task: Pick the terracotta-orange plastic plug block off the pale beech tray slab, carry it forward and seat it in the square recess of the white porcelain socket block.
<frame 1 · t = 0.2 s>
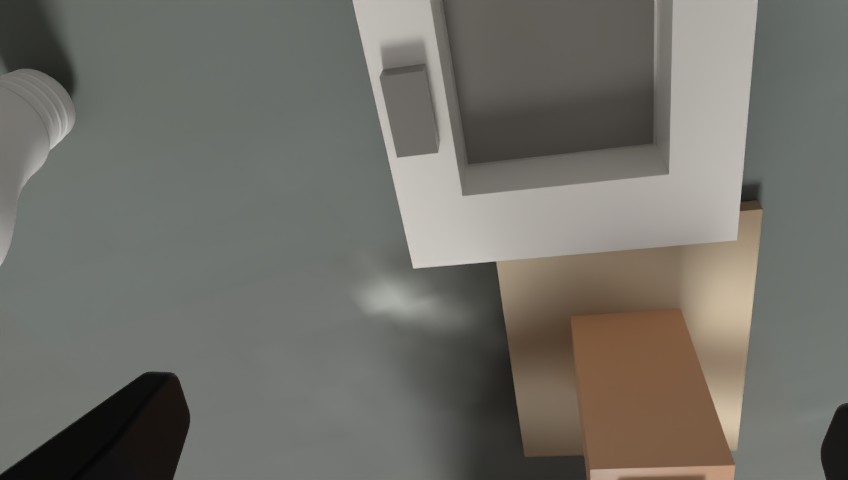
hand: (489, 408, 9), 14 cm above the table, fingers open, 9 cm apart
tray slab: (623, 341, 26), on the table
socket block: (549, 54, 21), on the table
plug: (625, 352, 26), point 1 cm above the table, touching tray slab
lightbulb: (55, 93, 23), on the table
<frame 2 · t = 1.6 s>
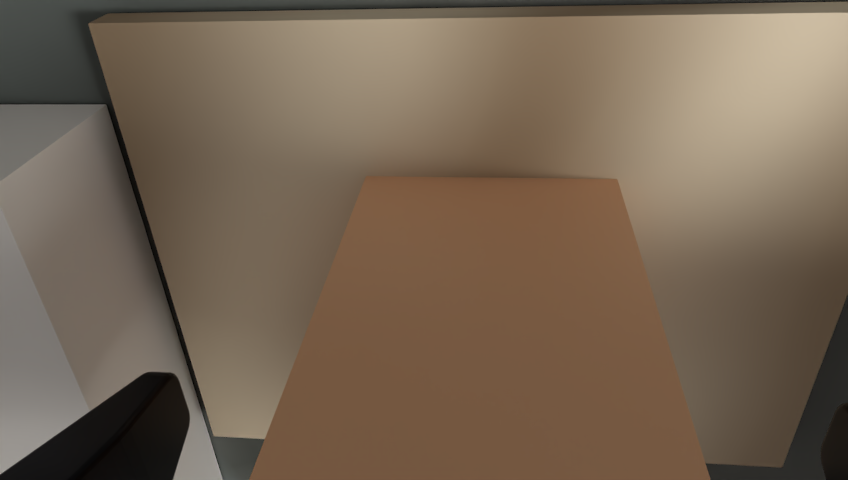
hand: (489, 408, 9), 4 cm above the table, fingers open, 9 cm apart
tray slab: (488, 259, 12), on the table
plug: (487, 279, 12), point 1 cm above the table, touching tray slab
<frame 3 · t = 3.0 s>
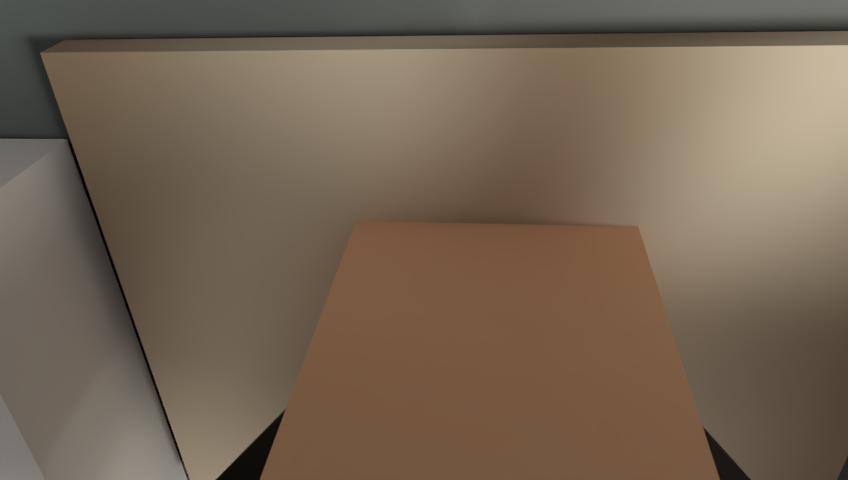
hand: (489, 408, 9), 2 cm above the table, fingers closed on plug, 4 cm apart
tray slab: (492, 308, 11), on the table
plug: (491, 331, 11), point 1 cm above the table, touching gripper, tray slab
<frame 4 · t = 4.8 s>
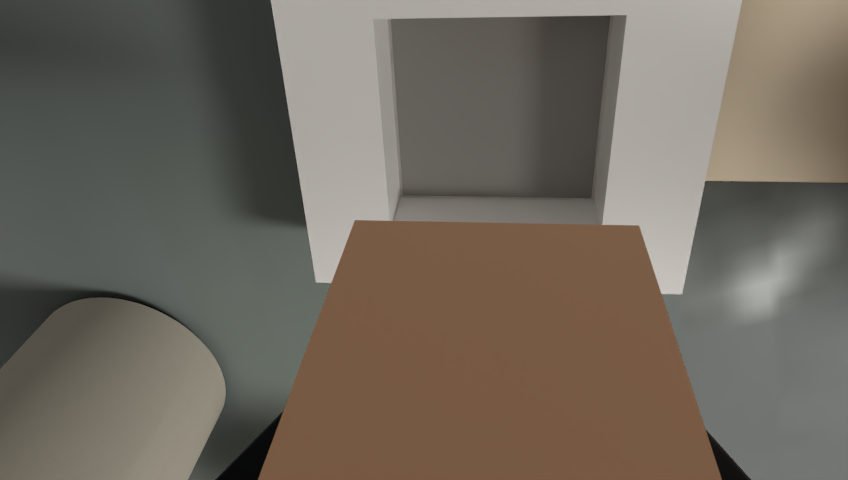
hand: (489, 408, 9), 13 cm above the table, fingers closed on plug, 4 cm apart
socket block: (497, 94, 20), on the table
travel mug: (139, 363, 28), on the table
plug: (491, 331, 10), point 11 cm above the table, touching gripper
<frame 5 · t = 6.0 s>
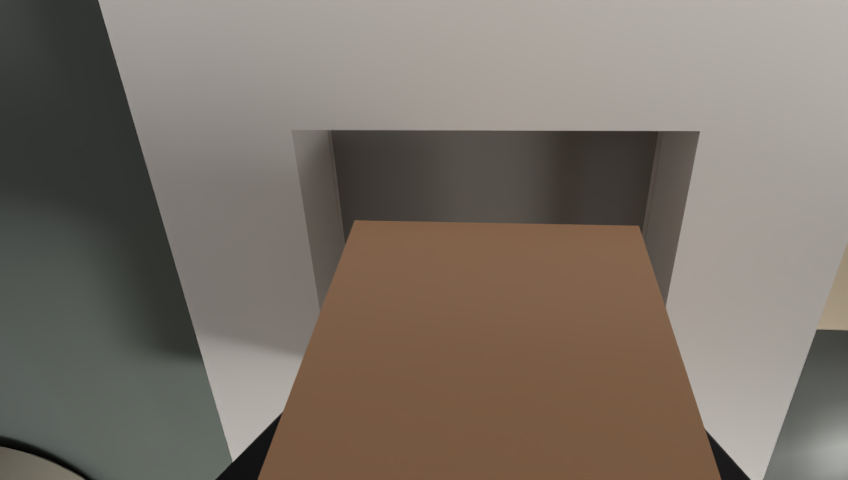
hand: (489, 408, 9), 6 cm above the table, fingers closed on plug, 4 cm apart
socket block: (489, 207, 14), on the table
plug: (491, 331, 10), point 4 cm above the table, touching gripper
when the fingers open (4 cm above the table, at t = 7.0 s): plug drops 1 cm, resting on socket block.
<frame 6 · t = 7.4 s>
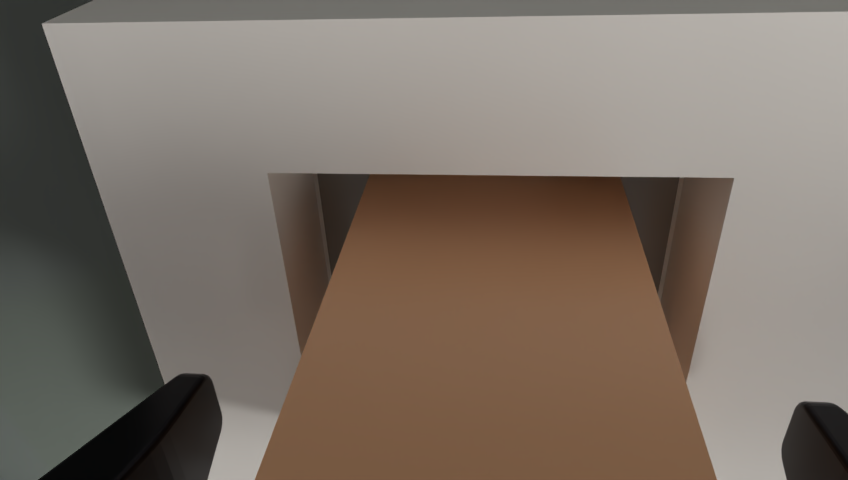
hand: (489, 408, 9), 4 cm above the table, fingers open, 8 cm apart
socket block: (492, 244, 13), on the table
plug: (491, 276, 12), point 1 cm above the table, touching socket block
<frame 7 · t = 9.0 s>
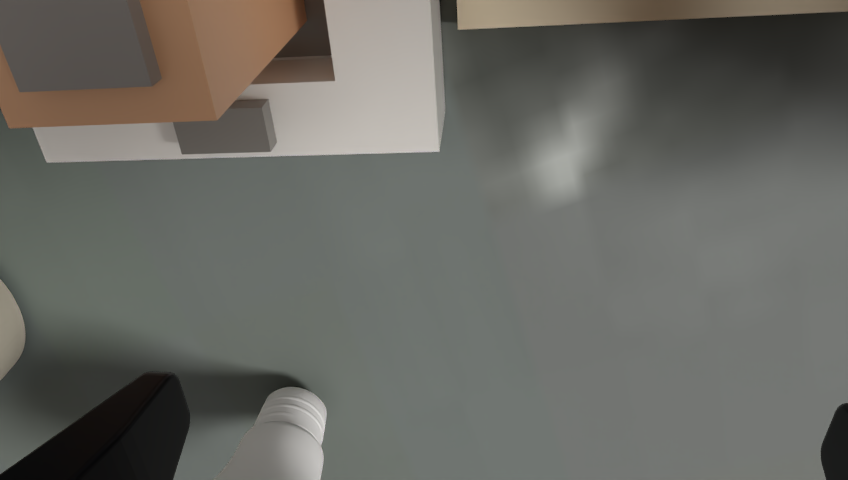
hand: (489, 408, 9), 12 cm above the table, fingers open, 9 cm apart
lightbulb: (301, 392, 27), on the table
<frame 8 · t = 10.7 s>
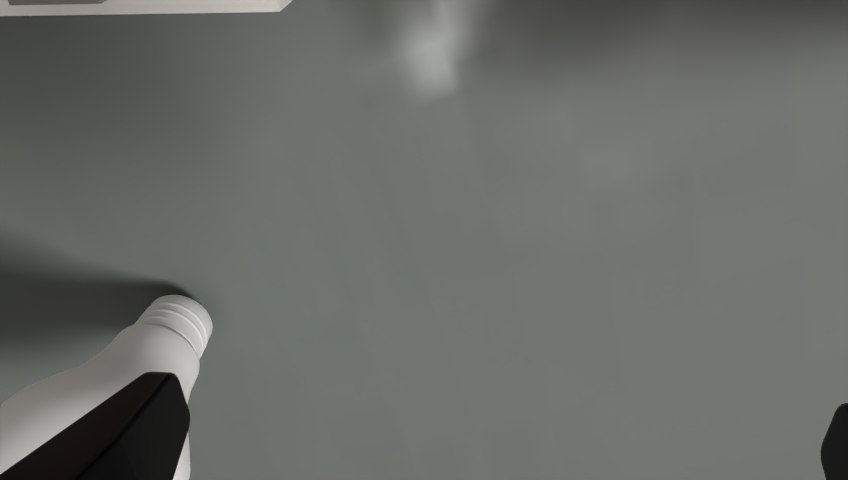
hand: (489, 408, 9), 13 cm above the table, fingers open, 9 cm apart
lightbulb: (191, 304, 26), on the table
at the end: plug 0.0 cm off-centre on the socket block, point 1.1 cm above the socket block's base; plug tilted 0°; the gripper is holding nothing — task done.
